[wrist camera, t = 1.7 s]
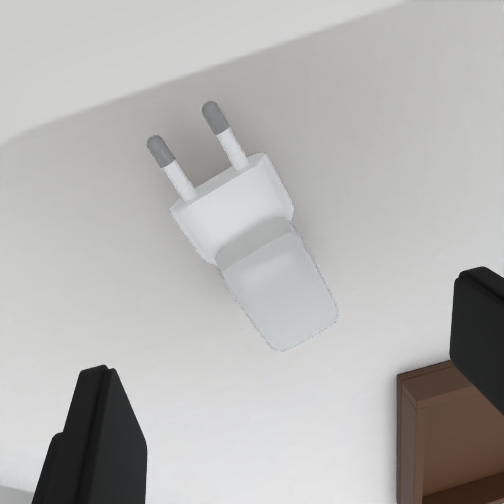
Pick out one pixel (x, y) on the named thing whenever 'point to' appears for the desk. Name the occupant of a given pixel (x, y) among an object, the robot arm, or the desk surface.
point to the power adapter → (251, 239)
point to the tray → (447, 440)
